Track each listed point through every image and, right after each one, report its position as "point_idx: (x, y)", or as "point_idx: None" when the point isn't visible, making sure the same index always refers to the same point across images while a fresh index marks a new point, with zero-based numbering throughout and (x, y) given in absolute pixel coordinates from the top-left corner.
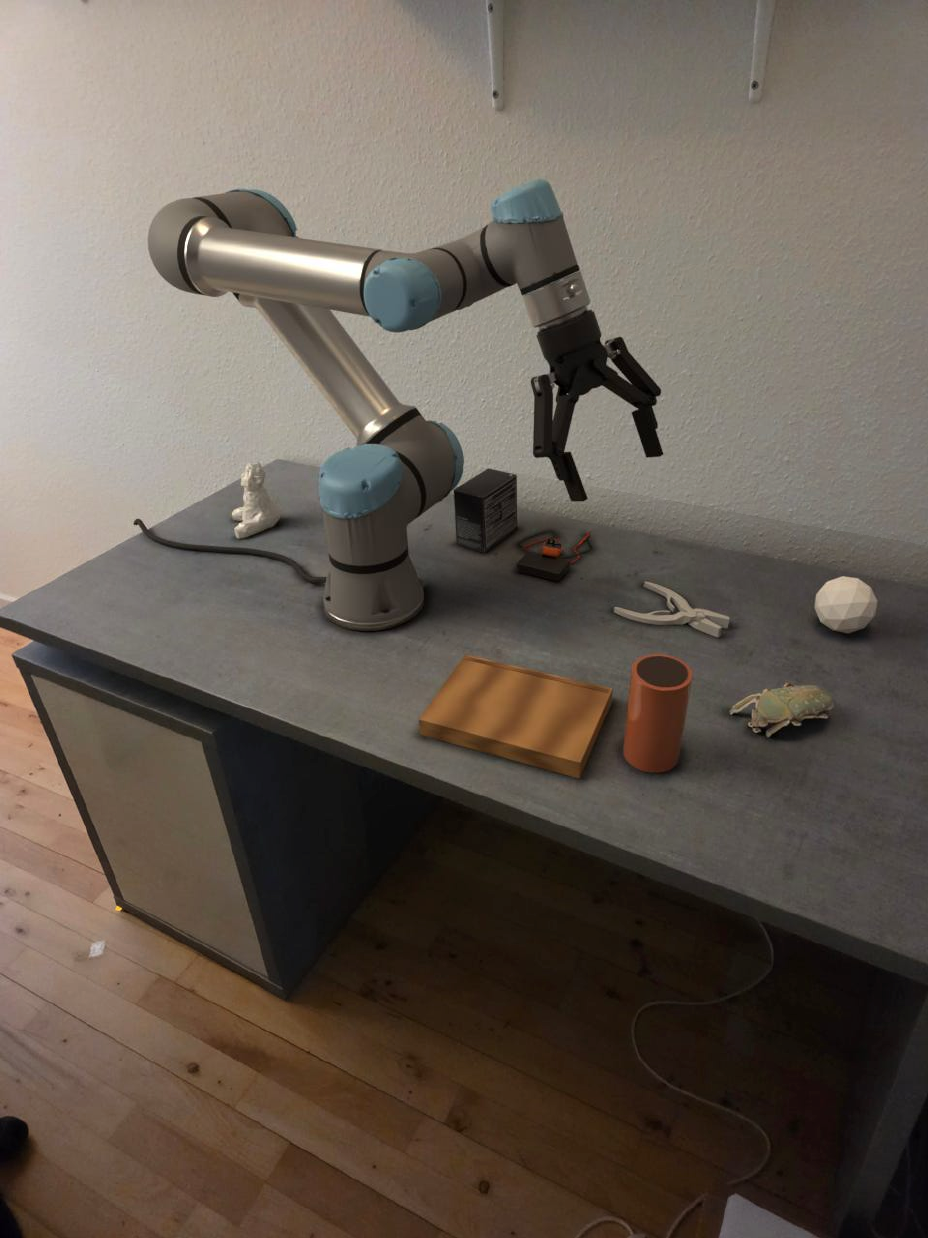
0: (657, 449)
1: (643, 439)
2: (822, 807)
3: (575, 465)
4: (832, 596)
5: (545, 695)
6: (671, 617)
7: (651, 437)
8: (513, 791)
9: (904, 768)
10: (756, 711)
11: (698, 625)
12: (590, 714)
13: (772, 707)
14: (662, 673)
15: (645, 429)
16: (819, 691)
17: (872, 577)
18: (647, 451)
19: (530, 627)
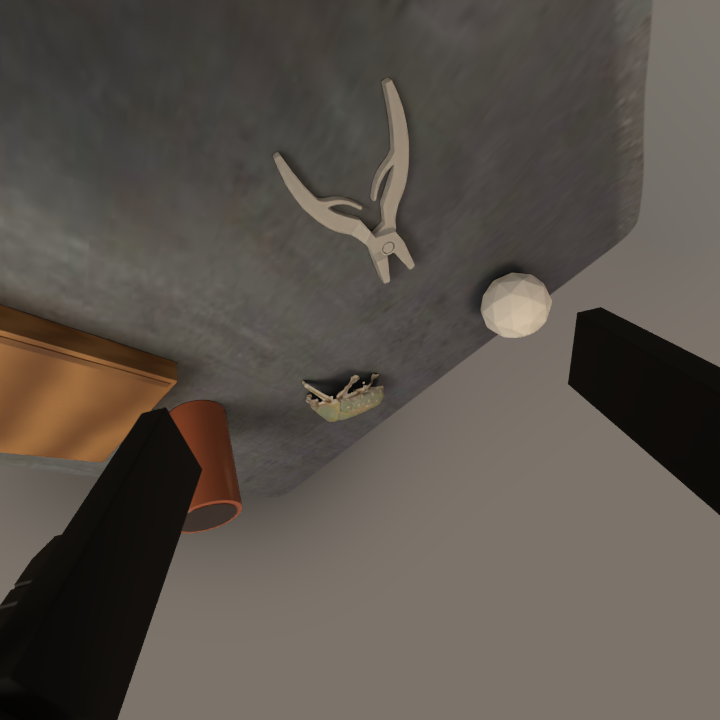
0: (589, 400)
1: (639, 375)
2: (302, 447)
3: (148, 622)
4: (505, 323)
5: (61, 388)
6: (352, 225)
7: (632, 428)
8: (12, 457)
9: (375, 422)
10: (317, 403)
11: (372, 256)
12: (131, 414)
13: (327, 416)
14: (206, 520)
15: (678, 439)
16: (376, 404)
17: (616, 212)
18: (593, 343)
19: (38, 135)
